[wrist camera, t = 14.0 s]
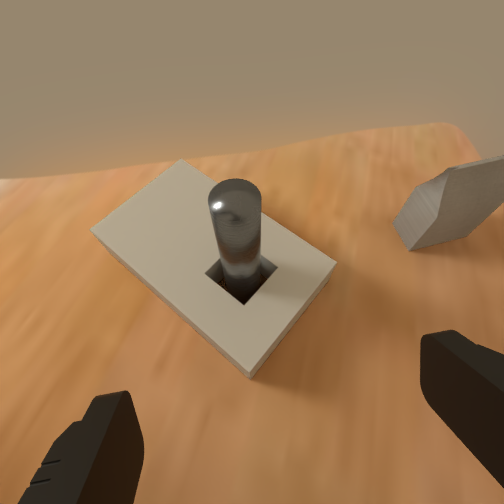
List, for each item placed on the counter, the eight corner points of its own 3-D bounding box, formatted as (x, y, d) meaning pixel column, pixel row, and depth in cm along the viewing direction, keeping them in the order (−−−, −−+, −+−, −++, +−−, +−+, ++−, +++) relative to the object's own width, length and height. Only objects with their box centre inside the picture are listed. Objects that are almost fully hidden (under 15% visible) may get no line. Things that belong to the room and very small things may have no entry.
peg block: (106, 250, 33) (89, 229, 30) (187, 183, 38) (180, 158, 34) (250, 379, 27) (249, 372, 23) (328, 280, 31) (337, 262, 28)
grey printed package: (466, 236, 34) (539, 169, 25) (408, 251, 33) (463, 186, 24) (447, 209, 35) (509, 138, 27) (392, 223, 35) (437, 153, 26)
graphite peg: (221, 291, 31) (196, 201, 19) (242, 268, 32) (232, 170, 20) (245, 311, 30) (236, 230, 18) (266, 287, 31) (272, 196, 19)
